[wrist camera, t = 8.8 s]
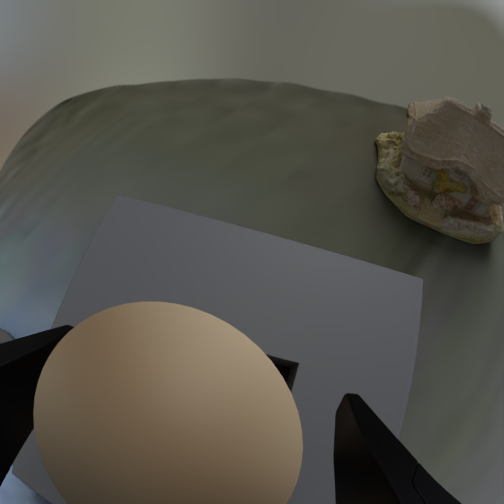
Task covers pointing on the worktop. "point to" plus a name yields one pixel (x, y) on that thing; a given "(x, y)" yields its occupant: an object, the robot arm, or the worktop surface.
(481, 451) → the worktop surface
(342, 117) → the worktop surface
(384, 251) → the worktop surface
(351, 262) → the hole plate
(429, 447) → the worktop surface
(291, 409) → the beech peg
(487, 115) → the ceramic model
